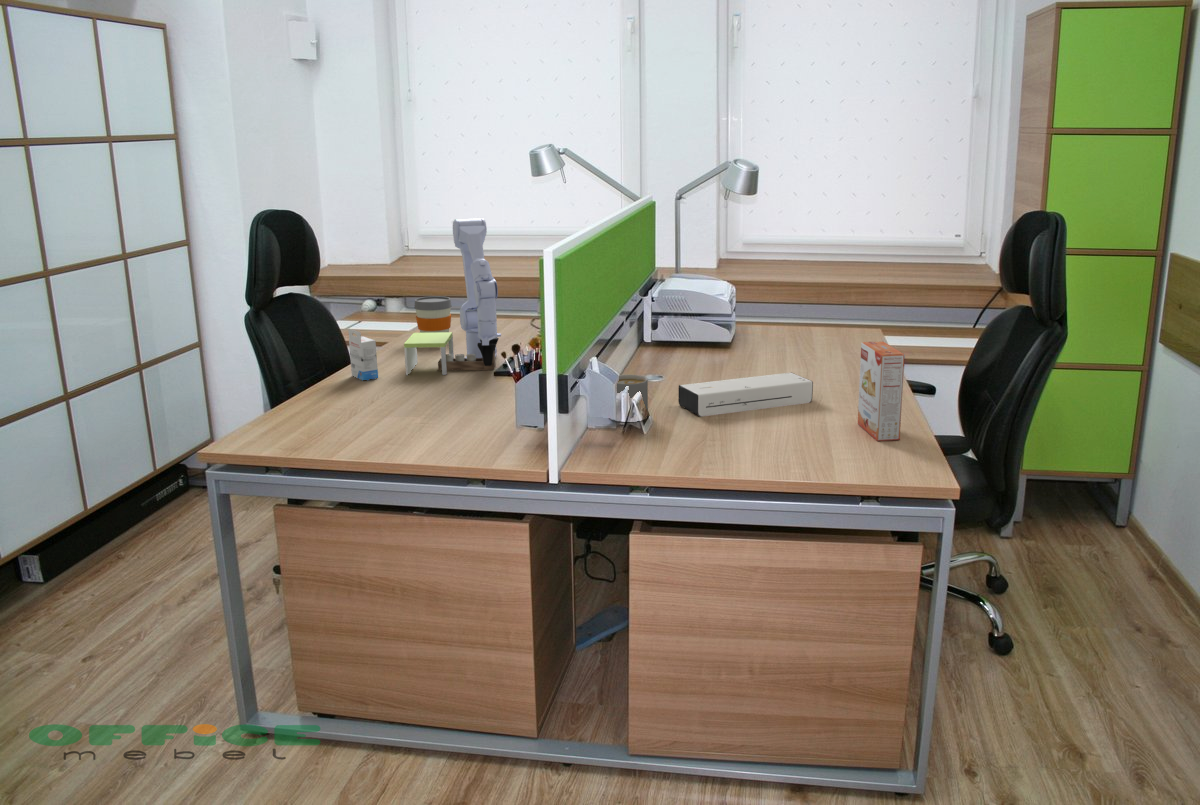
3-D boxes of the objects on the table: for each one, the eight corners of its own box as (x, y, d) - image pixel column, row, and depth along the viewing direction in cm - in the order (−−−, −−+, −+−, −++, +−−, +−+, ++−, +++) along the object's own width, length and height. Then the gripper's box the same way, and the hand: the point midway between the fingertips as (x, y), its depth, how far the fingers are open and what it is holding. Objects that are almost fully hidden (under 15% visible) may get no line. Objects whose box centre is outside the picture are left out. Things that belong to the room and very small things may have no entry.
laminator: (697, 418, 258) (697, 394, 256) (676, 406, 269) (676, 383, 267) (812, 403, 269) (813, 381, 268) (787, 392, 280) (788, 371, 279)
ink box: (379, 378, 301) (375, 330, 297) (364, 381, 298) (360, 332, 294) (366, 373, 308) (362, 325, 304) (350, 376, 304) (347, 328, 301)
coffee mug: (640, 410, 264) (640, 373, 261) (653, 420, 255) (653, 382, 252) (591, 415, 261) (590, 377, 258) (601, 425, 251) (601, 386, 249)
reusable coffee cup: (450, 345, 344) (448, 302, 340) (413, 346, 344) (410, 302, 340) (456, 338, 356) (453, 295, 352) (420, 338, 356) (417, 296, 352)
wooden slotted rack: (495, 365, 315) (494, 350, 313) (493, 369, 310) (493, 353, 308) (440, 366, 315) (439, 351, 313) (438, 370, 310) (437, 354, 308)
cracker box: (855, 424, 249) (860, 341, 244) (879, 423, 250) (884, 340, 244) (875, 442, 236) (880, 354, 230) (900, 441, 236) (906, 353, 231)
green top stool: (453, 362, 320) (452, 332, 317) (446, 374, 304) (444, 343, 302) (415, 362, 320) (413, 332, 317) (406, 375, 305) (403, 343, 302)
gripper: (497, 324, 301) (499, 368, 305) (502, 315, 315) (504, 357, 319) (474, 324, 301) (476, 369, 305) (479, 315, 315) (481, 358, 319)
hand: (489, 363), depth 312 cm, fingers closed on wooden slotted rack, 5 cm apart
